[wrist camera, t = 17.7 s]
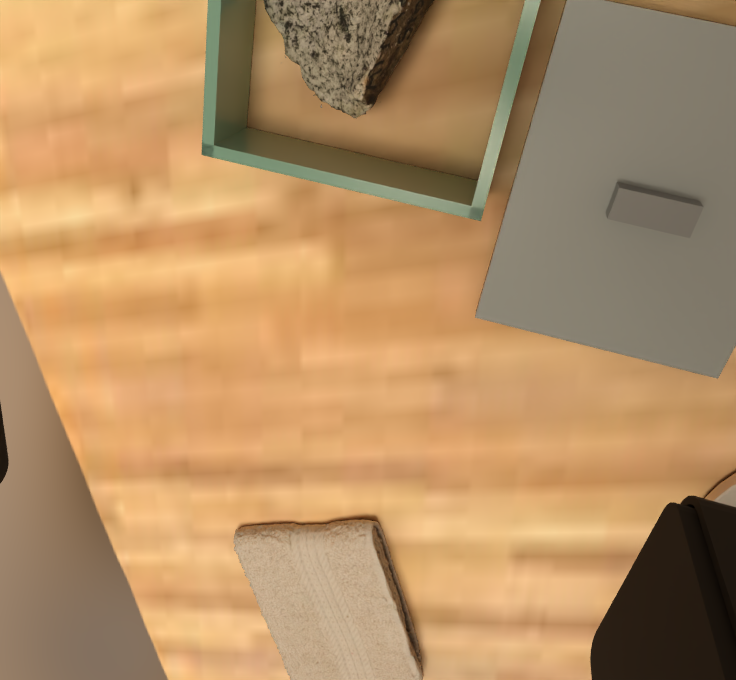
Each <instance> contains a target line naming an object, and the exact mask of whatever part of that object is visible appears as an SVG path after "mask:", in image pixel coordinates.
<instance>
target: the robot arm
mask: <svg viewBox="0 0 736 680" xmlns="http://www.w3.org/2000/svg"><path fill="white" fill-rule="evenodd" d="M7 469H8V453H7V446H6V439H5V433H4V426H3V418H2V411H1V404H0V483H1V482H2V480H3V479H4V477H5V475H6V472H7ZM590 659H591V674H592V680H736V473H735V474H733V475H732V476H730V477H729V478H727V479H726V480H724V481H723V482H721V483H720V484H719V485H718V486H717V487H716V488H714V489H713V490H712V491H711V492H710V493H709V494H708V495H707V496H706V498H705V499H704V498H700V497H696V496H688V497H686V498H685V499H684V500H683V501H682V503H681V504H677V503H674V502H673V503H669V504H668V505H667V506H666V507H665V508H664V510H663V512H662V513H661V515H660V517H659V519H658V521H657V523H656V524H655V526H654V528H653V530H652V532H651V533H650V535H649V537H648V539H647V541H646V542H645V544H644V546H643V548H642V550H641V552H640V553H639V555H638V557H637V559H636V561H635V562H634V564H633V566H632V568H631V570H630V571H629V573H628V575H627V577H626V579H625V581H624V582H623V584H622V586H621V588H620V590H619V591H618V593H617V595H616V597H615V599H614V600H613V602H612V604H611V606H610V608H609V609H608V611H607V613H606V615H605V617H604V619H603V620H602V622H601V624H600V626H599V628H598V629H597V631H596V633H595V636H594V639H593V642H592V648H591V657H590Z"/></svg>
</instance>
